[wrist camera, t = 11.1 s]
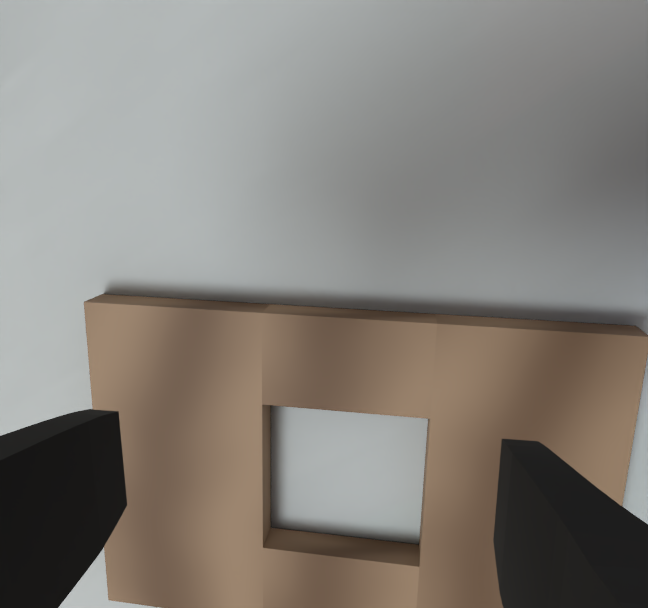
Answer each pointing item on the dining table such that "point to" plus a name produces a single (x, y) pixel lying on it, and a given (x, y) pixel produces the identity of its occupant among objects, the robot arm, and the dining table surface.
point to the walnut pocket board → (350, 396)
